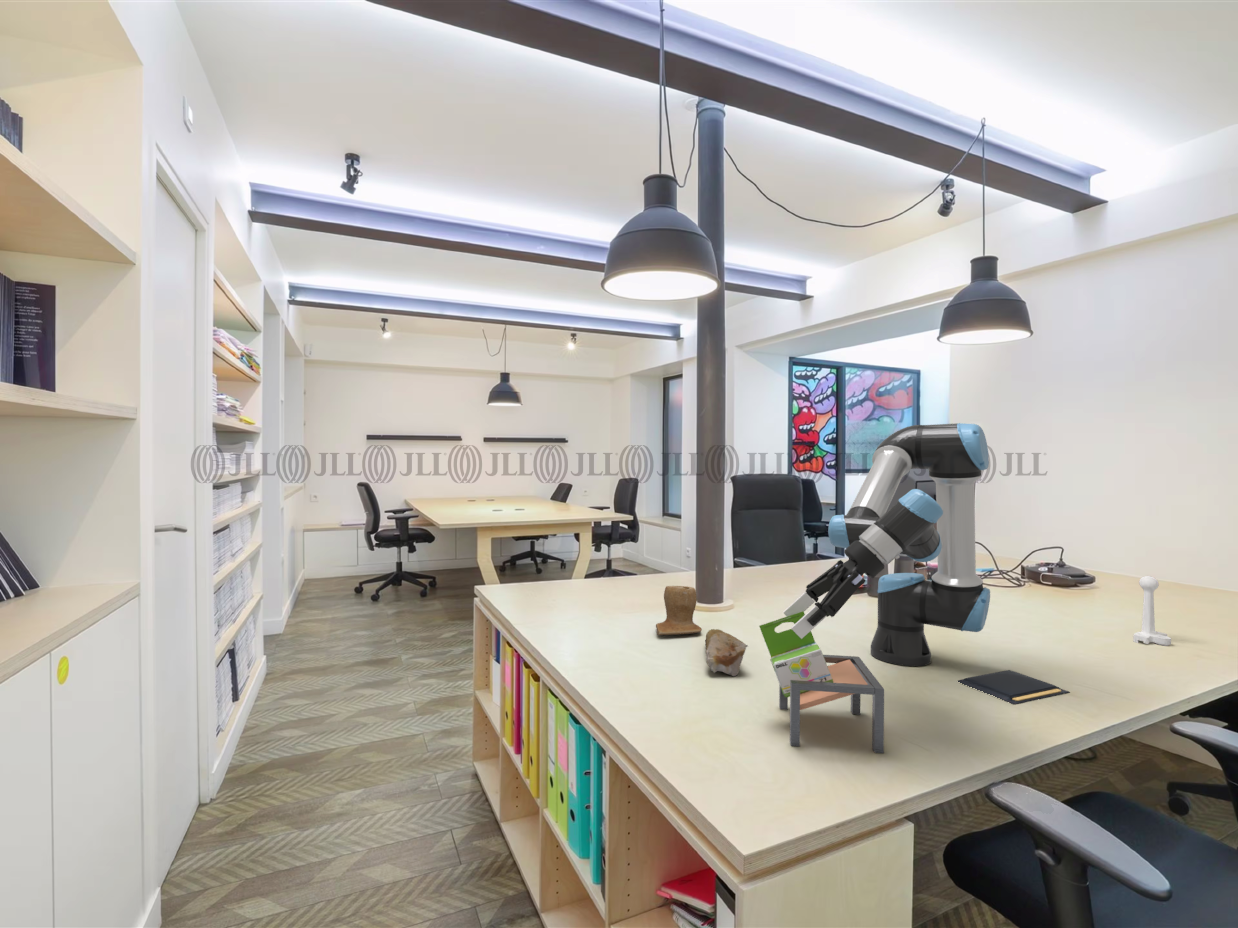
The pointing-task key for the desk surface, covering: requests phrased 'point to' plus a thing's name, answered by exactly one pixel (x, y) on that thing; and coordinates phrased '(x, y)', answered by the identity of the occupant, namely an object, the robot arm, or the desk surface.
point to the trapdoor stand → (857, 689)
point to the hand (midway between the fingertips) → (791, 624)
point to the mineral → (724, 652)
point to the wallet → (1013, 686)
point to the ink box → (794, 655)
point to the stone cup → (679, 611)
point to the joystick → (1150, 615)
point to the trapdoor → (839, 674)
